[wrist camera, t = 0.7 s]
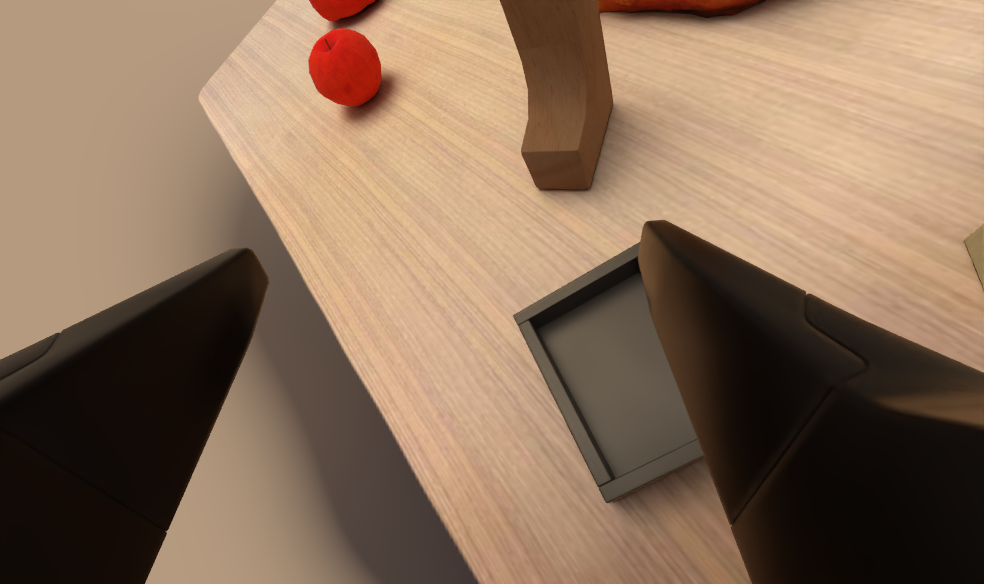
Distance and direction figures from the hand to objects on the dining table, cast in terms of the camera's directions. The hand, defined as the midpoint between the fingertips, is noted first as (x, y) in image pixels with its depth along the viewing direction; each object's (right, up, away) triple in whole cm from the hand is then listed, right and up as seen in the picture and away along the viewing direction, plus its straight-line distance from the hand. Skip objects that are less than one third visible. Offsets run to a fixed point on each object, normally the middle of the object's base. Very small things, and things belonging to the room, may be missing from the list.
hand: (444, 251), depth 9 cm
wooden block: (+8, +11, +24) cm, 28 cm away
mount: (+9, -6, +15) cm, 19 cm away
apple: (-14, +23, +39) cm, 48 cm away
